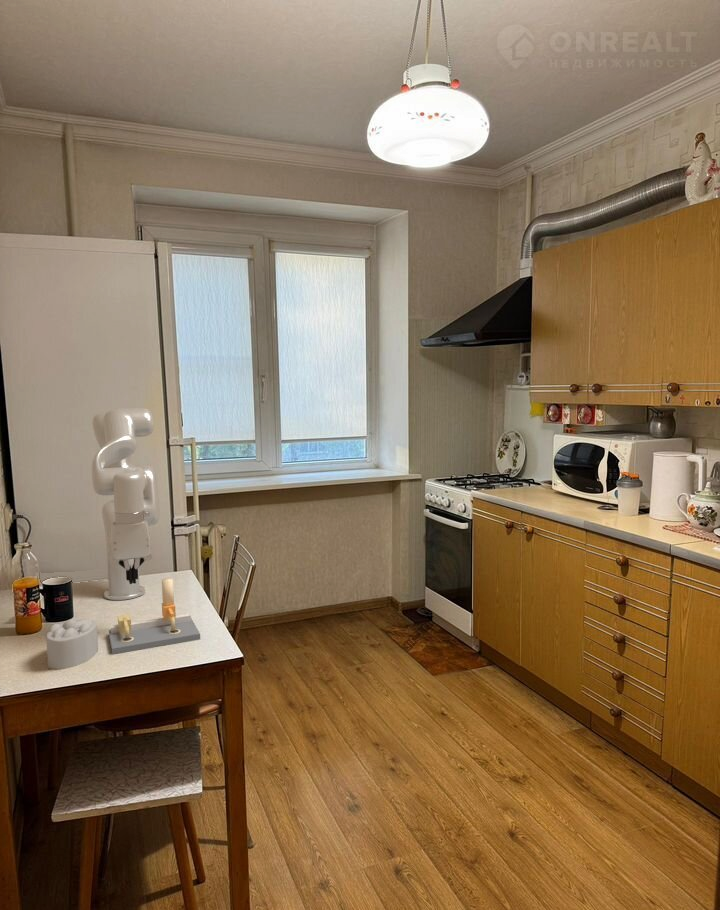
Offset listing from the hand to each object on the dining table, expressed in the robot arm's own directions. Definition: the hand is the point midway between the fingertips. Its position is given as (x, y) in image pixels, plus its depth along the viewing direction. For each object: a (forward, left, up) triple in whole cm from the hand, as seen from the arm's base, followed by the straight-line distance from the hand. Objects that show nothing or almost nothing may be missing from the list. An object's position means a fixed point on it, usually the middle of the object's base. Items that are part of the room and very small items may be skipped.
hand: (132, 582), depth 173 cm
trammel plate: (+7, +4, -14) cm, 16 cm away
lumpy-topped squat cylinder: (+11, -16, -14) cm, 24 cm away
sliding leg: (+5, +9, -12) cm, 16 cm away
